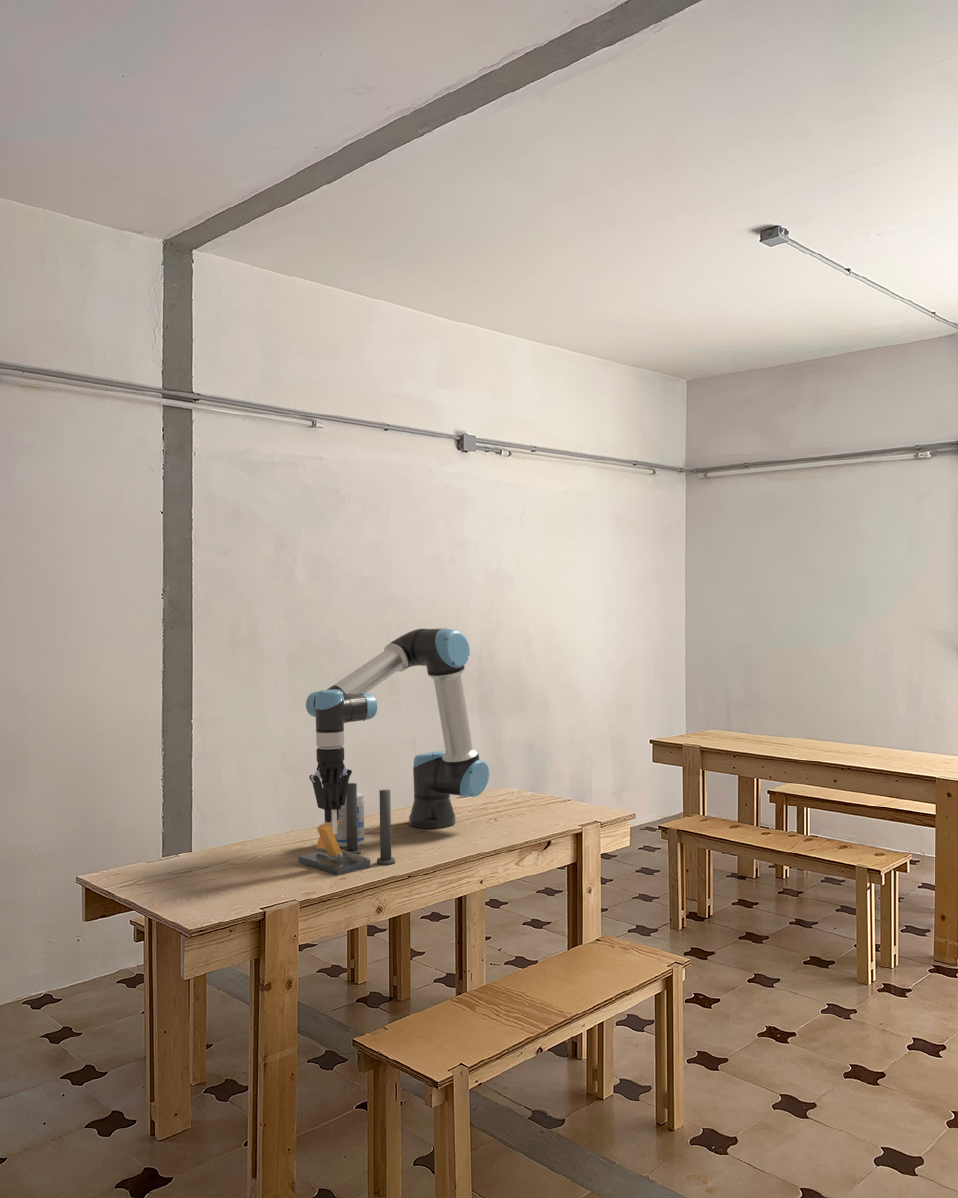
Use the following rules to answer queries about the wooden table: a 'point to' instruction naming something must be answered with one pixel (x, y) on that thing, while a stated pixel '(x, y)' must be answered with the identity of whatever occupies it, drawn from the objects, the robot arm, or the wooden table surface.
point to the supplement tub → (342, 825)
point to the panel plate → (335, 862)
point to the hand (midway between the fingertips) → (332, 833)
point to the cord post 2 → (385, 829)
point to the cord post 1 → (352, 819)
